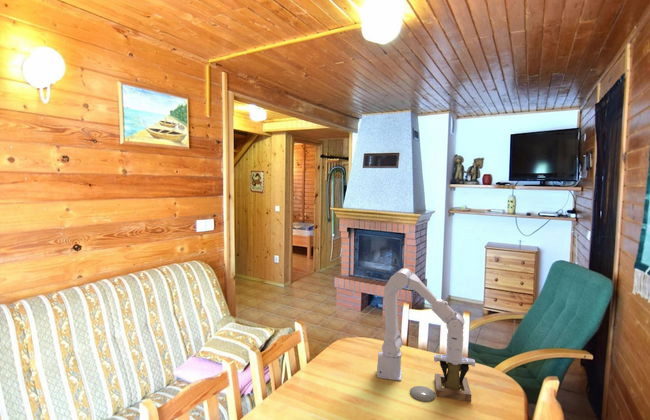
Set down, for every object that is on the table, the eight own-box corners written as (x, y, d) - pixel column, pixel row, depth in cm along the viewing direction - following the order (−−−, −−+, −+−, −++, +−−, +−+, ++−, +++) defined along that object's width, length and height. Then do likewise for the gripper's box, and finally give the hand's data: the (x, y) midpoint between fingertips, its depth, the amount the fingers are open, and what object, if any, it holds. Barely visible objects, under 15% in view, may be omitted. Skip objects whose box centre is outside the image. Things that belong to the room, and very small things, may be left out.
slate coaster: (410, 399, 131) (410, 397, 131) (410, 386, 140) (410, 384, 140) (435, 403, 129) (435, 401, 129) (434, 389, 138) (434, 387, 138)
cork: (461, 395, 134) (463, 367, 133) (444, 392, 135) (446, 364, 134) (458, 386, 140) (461, 359, 139) (442, 384, 141) (444, 357, 140)
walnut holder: (436, 396, 133) (436, 389, 133) (434, 379, 145) (434, 373, 145) (471, 401, 131) (471, 394, 130) (466, 383, 142) (466, 377, 142)
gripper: (435, 349, 134) (433, 384, 135) (477, 353, 131) (475, 389, 132) (434, 341, 141) (432, 374, 142) (473, 345, 138) (472, 379, 139)
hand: (453, 381), depth 137 cm, fingers closed on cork, 5 cm apart
